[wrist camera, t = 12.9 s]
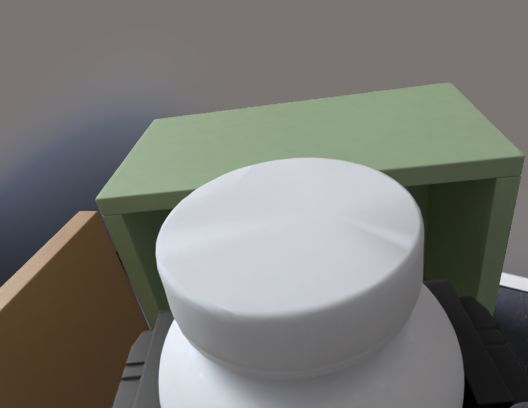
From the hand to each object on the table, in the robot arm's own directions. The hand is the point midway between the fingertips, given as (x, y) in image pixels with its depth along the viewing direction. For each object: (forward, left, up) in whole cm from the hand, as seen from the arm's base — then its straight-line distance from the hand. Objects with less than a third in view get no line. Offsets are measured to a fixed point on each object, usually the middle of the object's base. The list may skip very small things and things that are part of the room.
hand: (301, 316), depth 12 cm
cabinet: (+8, -10, -18) cm, 22 cm away
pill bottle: (-2, +2, -7) cm, 7 cm away
